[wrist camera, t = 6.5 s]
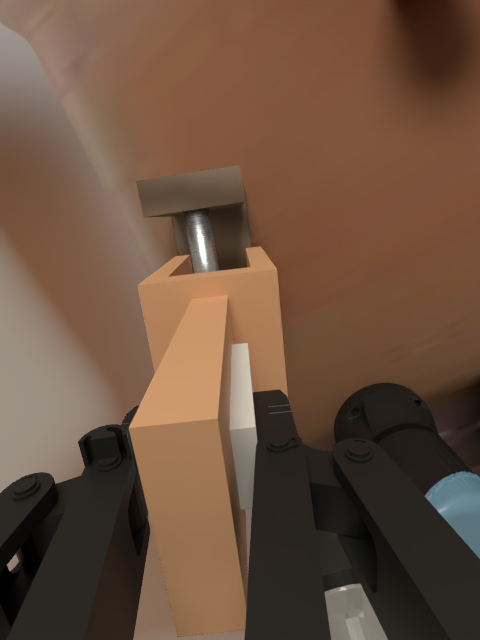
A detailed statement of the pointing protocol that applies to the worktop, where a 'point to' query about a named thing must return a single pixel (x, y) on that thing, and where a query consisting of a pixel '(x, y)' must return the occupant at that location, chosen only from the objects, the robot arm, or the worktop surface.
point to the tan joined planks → (202, 429)
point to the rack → (203, 215)
